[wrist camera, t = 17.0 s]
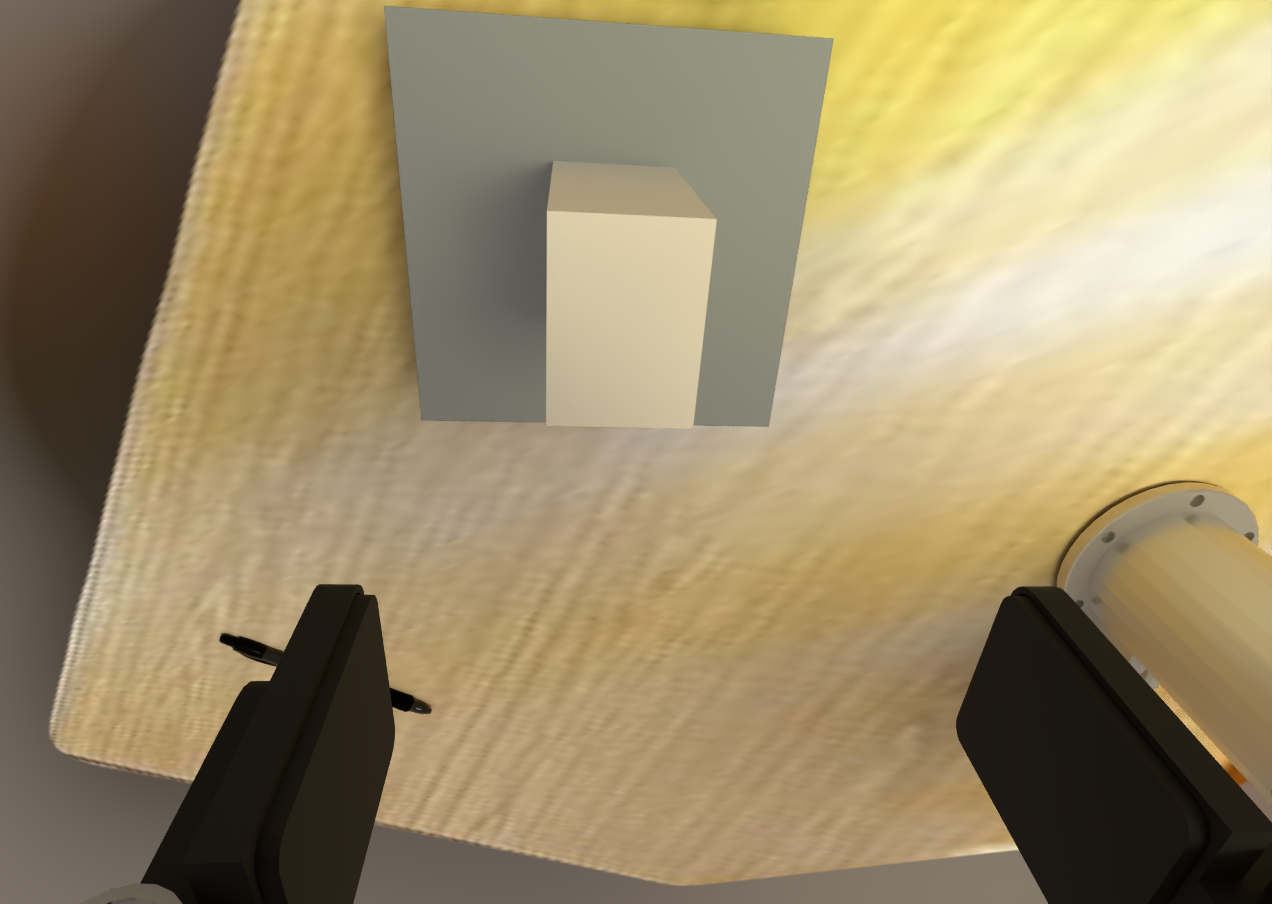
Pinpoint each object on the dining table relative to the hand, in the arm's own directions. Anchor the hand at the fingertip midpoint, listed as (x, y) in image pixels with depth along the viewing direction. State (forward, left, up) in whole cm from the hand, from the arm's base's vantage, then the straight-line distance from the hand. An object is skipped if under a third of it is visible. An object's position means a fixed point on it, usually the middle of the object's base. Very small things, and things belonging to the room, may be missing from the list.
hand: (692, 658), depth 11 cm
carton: (0, 0, -24) cm, 24 cm away
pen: (-29, +17, -29) cm, 44 cm away
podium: (0, 0, -28) cm, 28 cm away
